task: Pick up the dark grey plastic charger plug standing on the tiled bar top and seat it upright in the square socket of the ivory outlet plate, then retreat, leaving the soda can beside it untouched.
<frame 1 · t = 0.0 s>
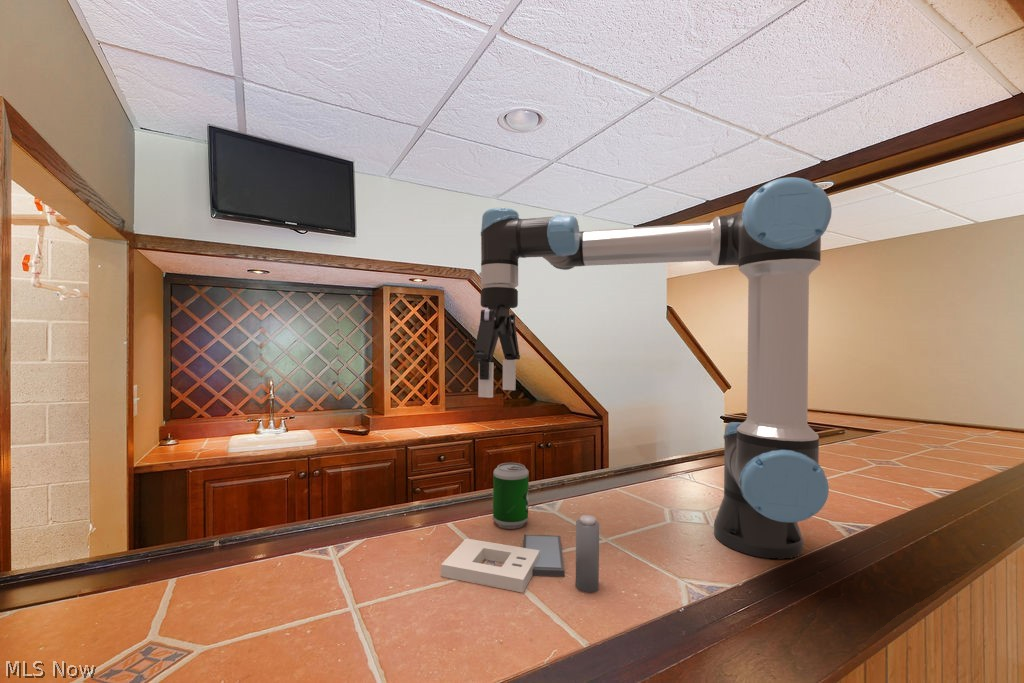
hand: (498, 393, 88), 28 cm above the counter, fingers open, 13 cm apart
plug: (587, 586, 69), on the counter
soda can: (510, 523, 93), on the counter
phone: (542, 556, 79), on the counter
outlet: (492, 569, 74), on the counter
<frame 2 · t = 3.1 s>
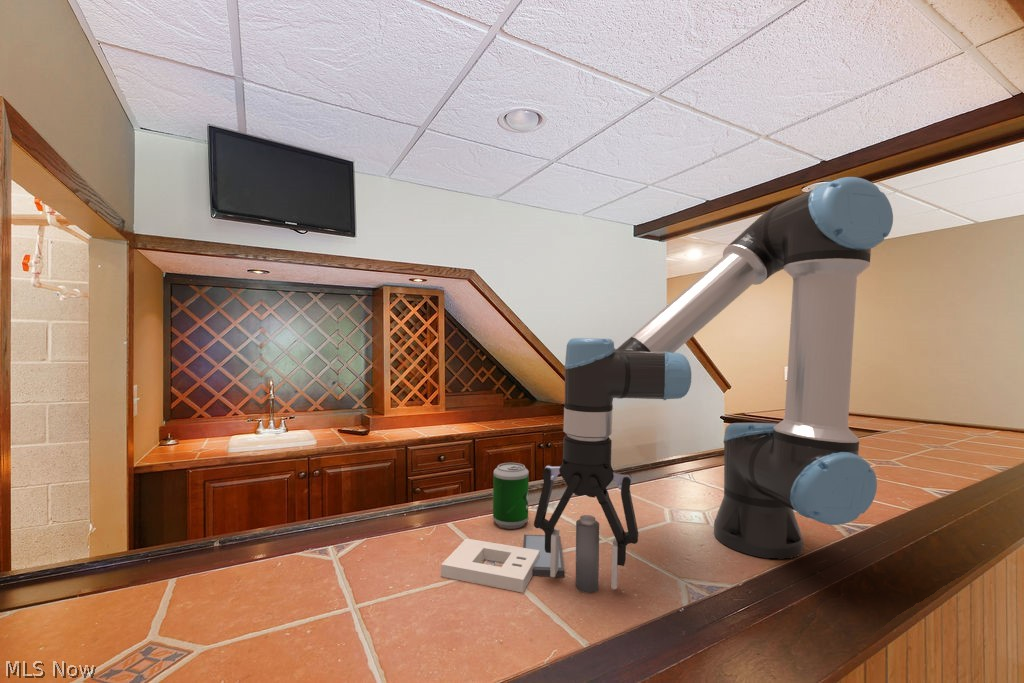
hand: (583, 578, 69), 1 cm above the counter, fingers open, 9 cm apart
nothing on the counter moved.
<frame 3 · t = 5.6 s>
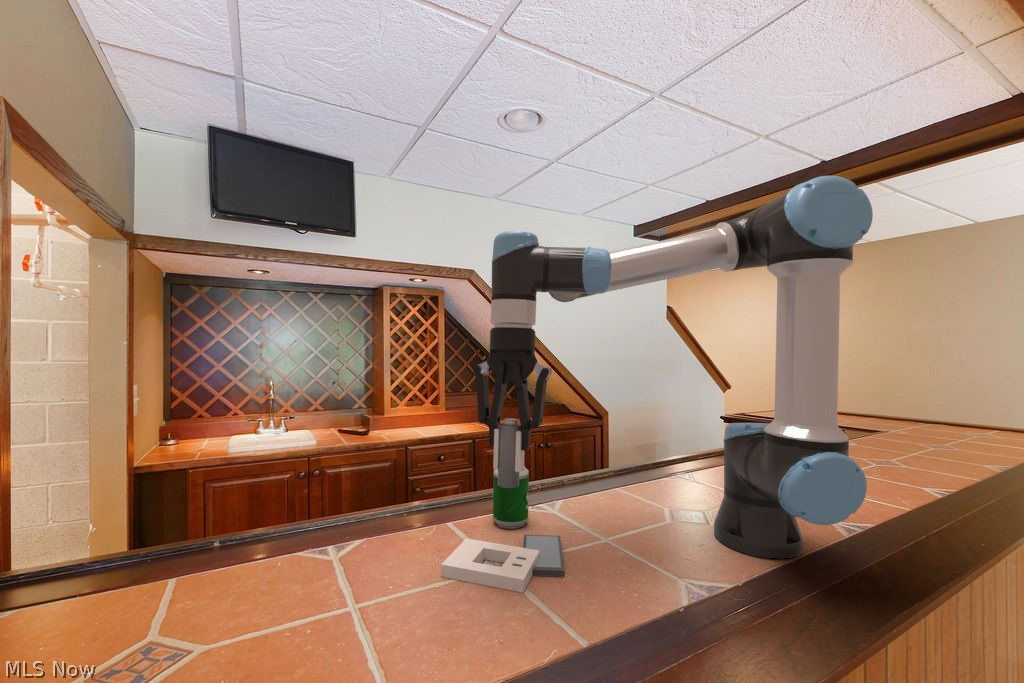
hand: (508, 467, 73), 17 cm above the counter, fingers closed on plug, 3 cm apart
plug: (508, 484, 73), point 15 cm above the counter, touching gripper
everything else where it was.
when the fingers open (2 cm above the counter, at t = 7.7 s): plug stays where it is, resting in outlet.
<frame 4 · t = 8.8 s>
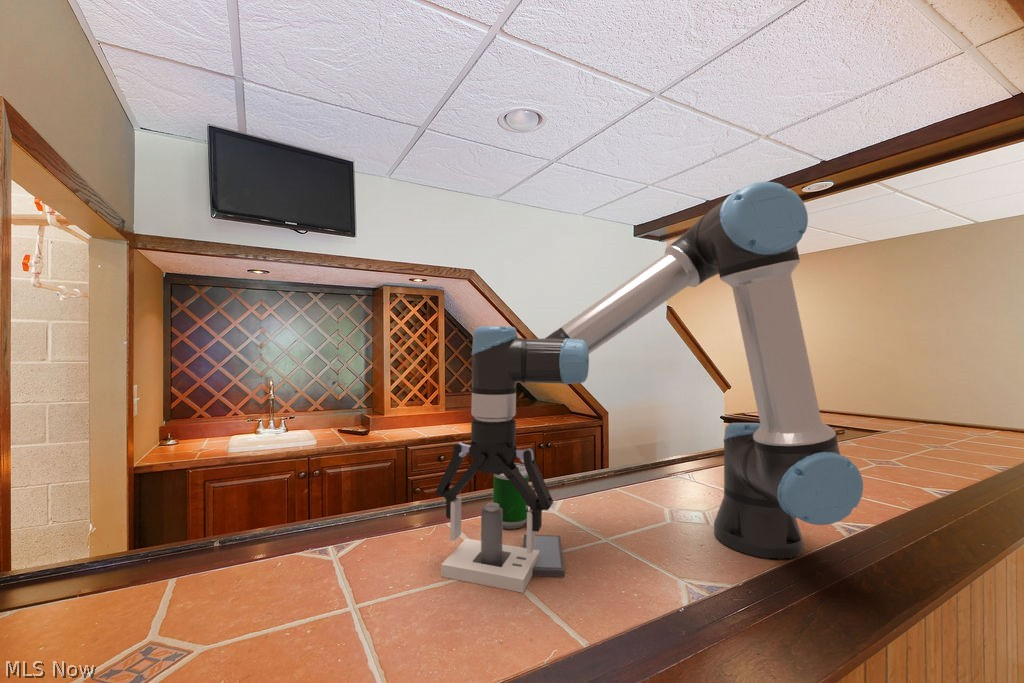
hand: (492, 543, 74), 4 cm above the counter, fingers open, 13 cm apart
plug: (491, 569, 74), resting in outlet
everything else where it was.
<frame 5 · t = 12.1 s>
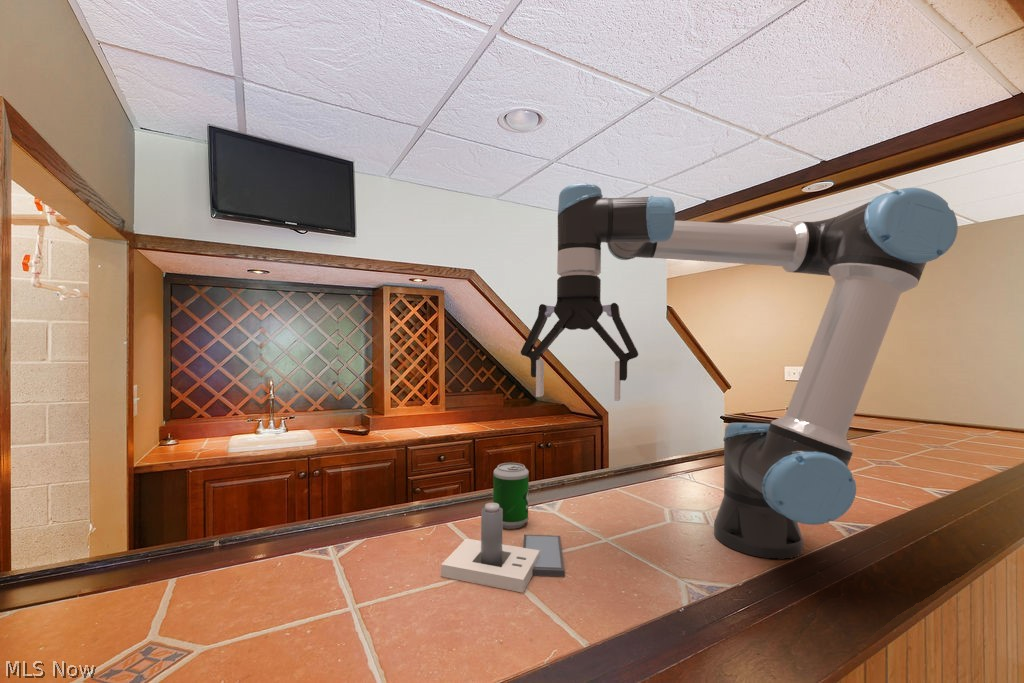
hand: (577, 398, 77), 29 cm above the counter, fingers open, 13 cm apart
nothing on the counter moved.
at the end: plug 0.1 cm off-centre on the outlet, point 0.0 cm above the outlet's base; plug tilted 0°; the gripper is holding nothing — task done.
